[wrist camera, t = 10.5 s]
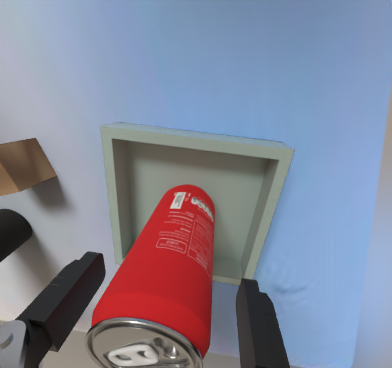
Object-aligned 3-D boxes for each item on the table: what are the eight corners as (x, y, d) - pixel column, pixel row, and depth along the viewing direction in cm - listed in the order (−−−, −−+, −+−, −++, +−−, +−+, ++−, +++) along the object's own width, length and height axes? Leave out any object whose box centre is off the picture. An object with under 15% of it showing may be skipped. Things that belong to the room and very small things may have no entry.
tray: (120, 122, 16) (100, 125, 13) (281, 141, 15) (294, 150, 12) (128, 244, 22) (115, 263, 19) (245, 263, 21) (249, 287, 18)
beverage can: (223, 216, 18) (231, 387, 7) (179, 232, 19) (128, 395, 9) (200, 171, 16) (163, 304, 6) (153, 192, 18) (50, 331, 7)
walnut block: (5, 146, 19) (-47, 156, 15) (36, 137, 18) (-11, 146, 14) (28, 181, 20) (-14, 199, 16) (57, 175, 19) (19, 191, 16)
